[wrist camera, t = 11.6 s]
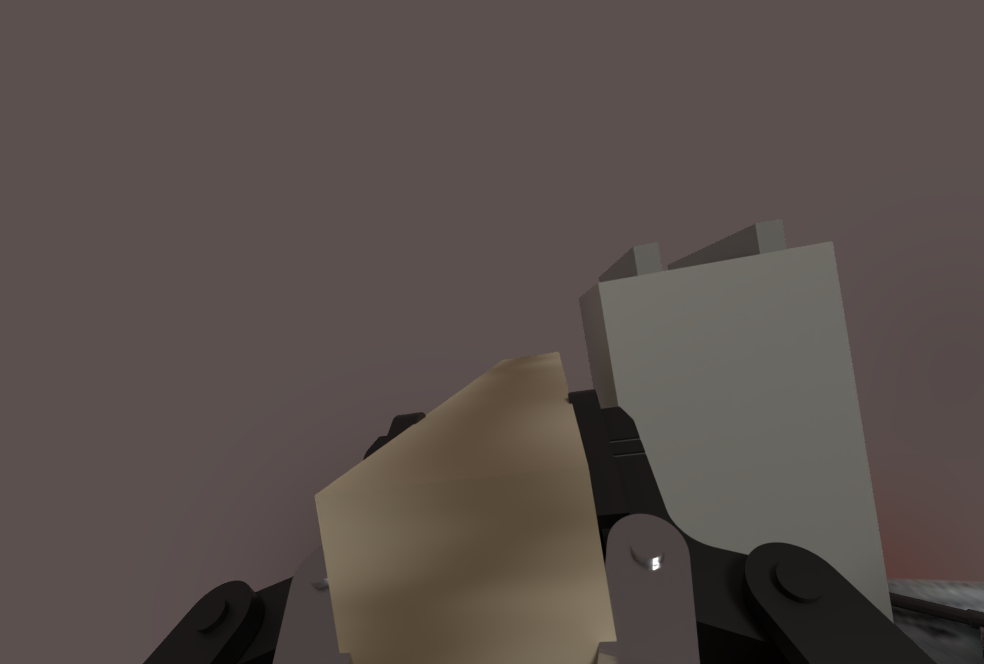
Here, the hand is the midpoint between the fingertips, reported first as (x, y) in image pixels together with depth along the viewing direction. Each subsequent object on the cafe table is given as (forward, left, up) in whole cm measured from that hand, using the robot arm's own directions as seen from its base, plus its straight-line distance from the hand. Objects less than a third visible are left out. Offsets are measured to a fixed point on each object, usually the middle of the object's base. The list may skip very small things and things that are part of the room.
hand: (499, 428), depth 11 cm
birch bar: (0, -6, -3) cm, 7 cm away
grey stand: (-10, -18, -28) cm, 35 cm away
